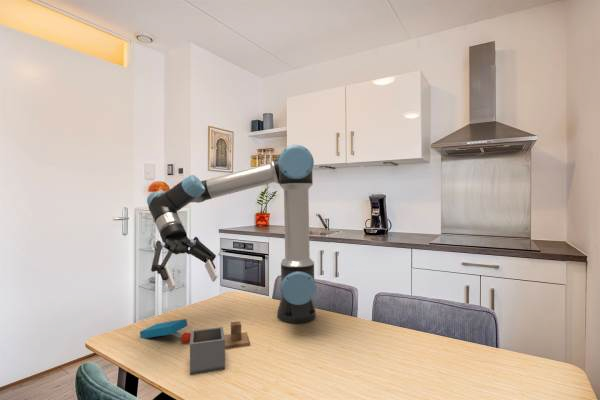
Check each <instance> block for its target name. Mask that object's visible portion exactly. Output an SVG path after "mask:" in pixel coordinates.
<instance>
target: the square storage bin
mask: <svg viewBox="0 0 600 400" xmlns="http://www.w3.org/2000/svg"><path fill="white" fill-rule="evenodd" d="M190 334H191V338H190V343H189V376H191V375H198V374H204V373H210V372H216V371H222V370H225V369H226V349H225V337H224V335H225V332H224V327H223V326H218V327H211V328H210V327H209V328H203V329H194V330H190Z"/></svg>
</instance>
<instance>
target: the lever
mask: <svg viewBox="0 0 600 400" xmlns="http://www.w3.org/2000/svg"><path fill="white" fill-rule="evenodd" d="M188 325H189V324H188V321H187V318H183V319H178V320H171V321H166V322H160V323H155V324H153V325H151V326H149V327H146V328H144V329H143V330H140V331H139V335H140V339H149V338H155V337H160V336H162V337H163V336H167V335H169V336H170V335H173V336H176V337H178V338H180V341H181V343H182V344H184V345H185V344H190V338H191V332H184V333H182V332H179V331H181V330H183V329H185V328H186V327H188Z"/></svg>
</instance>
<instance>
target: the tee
mask: <svg viewBox="0 0 600 400" xmlns="http://www.w3.org/2000/svg"><path fill="white" fill-rule="evenodd" d="M224 337H225V350H229V349H235V348H236V349H237V348H245V347H249V346H251V342H250V338H249V335H248V331H246V332H245V331H244V332H242V323H241V320H240V321H239V320H238V321H231V322H230V333H228V334H224Z"/></svg>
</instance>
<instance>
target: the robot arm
mask: <svg viewBox="0 0 600 400" xmlns="http://www.w3.org/2000/svg"><path fill="white" fill-rule="evenodd" d="M314 161H315V160H314V157H313V154H312V153H311V151H310V149H308V148H307V147H305V146H303V145H300V144H292V145H289V146H287V147H285V148H284V149H283V150H282V151H281V153H280V154H279V156H278V158H276V159H275V158H274V159H271V160H270V163H267V164H262V165H259V166H258V165H257V166H254V167H251V168H248V169H242V170H240V171H239V170H238V171H236V172H231V173H229V174H224V175H221V176H217V177H212V178H209V179H206V180H200V179H199V178H198V177H197V176H196V175H195V174H191V175H189V176H186V178H183V179H182V180H181V181H180V182H178V183H177V184H175V185H174V186H172V188H170V189H168V190H167V191H165V190H156V191H152V192H151V193H150V194H149V195H148V196H147V198H146V203H147V205H148V210H149V212H150V214H151V217H152V218H153V221H154V224H155V226H156V229H157V230H158V232H159V236H160V238H161V240H162V241H161V240H157V241H156V242H155V244H154V247H153V249H154V257H153V259H152V265H151V268H150V271H151V272H153V273H154V272H157V274H158V275H160V278H161V280H162V281H163V282H166V284H167V287H168V290H169V292H173V291H174V289H175V287H176V282H175V281H174V280H175V279H174V278H173V276H172V275H173V274H172V273H171V270H170V268H169V266H166V265H167V264H168V262H169V260H170V259H171V256H172V254H174V255H176V256H177V255H180V254H185V253H186V254H187V255H191V256H193V257H195V259H198V260H199V261H202V262H203V263H205V264H204V267H205V269H206V270H207V271H206V272H207V273H208V275H209V277H210V280H211V282H213V283H214V282H215V281H216V280H217V278H218V276H219V275H218V273H217V272H216V266H215V264H214V261H215V259H216V257H217V255H216V254H215V253H214V252H213V251H211V250H210V248H208V246H205V245H204V244H203V243H202V242H201V240H200V239H199V237H197V236H194V238H191V239H190V238H188V235H187V231H186V229H185V226H184V225H183V223H182V220H181V219H180V216H179V215H178V212H179V211H180V210H181V209H183V208H184V207H186V206H187V205H188V204H189V205H190V203H197V204H198V203H203V202H205V201H208V200H212V199H215V198H219V197H223V196H226V195H231V194H235V193H238V192H243V191H246V190H249V189H254V188H258V187H262V186H265V185H268V184H272V183H275V184H277V185H279V186H280V187H281V189H283V208H284V211H283V212H284V213H283V215H284V216H283V217H284V258H283V259H281V262H280V282H281V283H280V293H281V298H280V301H279V305H278V308H277V311H276V313H277V316H276V317H277V319H278V320H279V321H280V322H283V323H287V324H295V325H296V324H305V323H306V324H307V323H309V322H312V321H314V320H315V319H316V318H317V317H316V316H317V315H316V314H317V313H316V308H315V305H314V302H313V298H314V296H315V293H316V291H317V290H316V289H317V284H316V281H315V261H314V260H313V259H311V258H310V254H311V253H310V213H309V212H310V211H309V209H310V208H309V207H310V206H309V205H310V204H309V199H310V198H309V189H311V187H312V186H313V181H314V180H313V169H314V163H315V162H314ZM163 248H164V249H166V250H168V251H167V253H166V255H165V257H164V258H163V260H162V262H161V264H159V262H160V258H161V253H162V250H163Z"/></svg>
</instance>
